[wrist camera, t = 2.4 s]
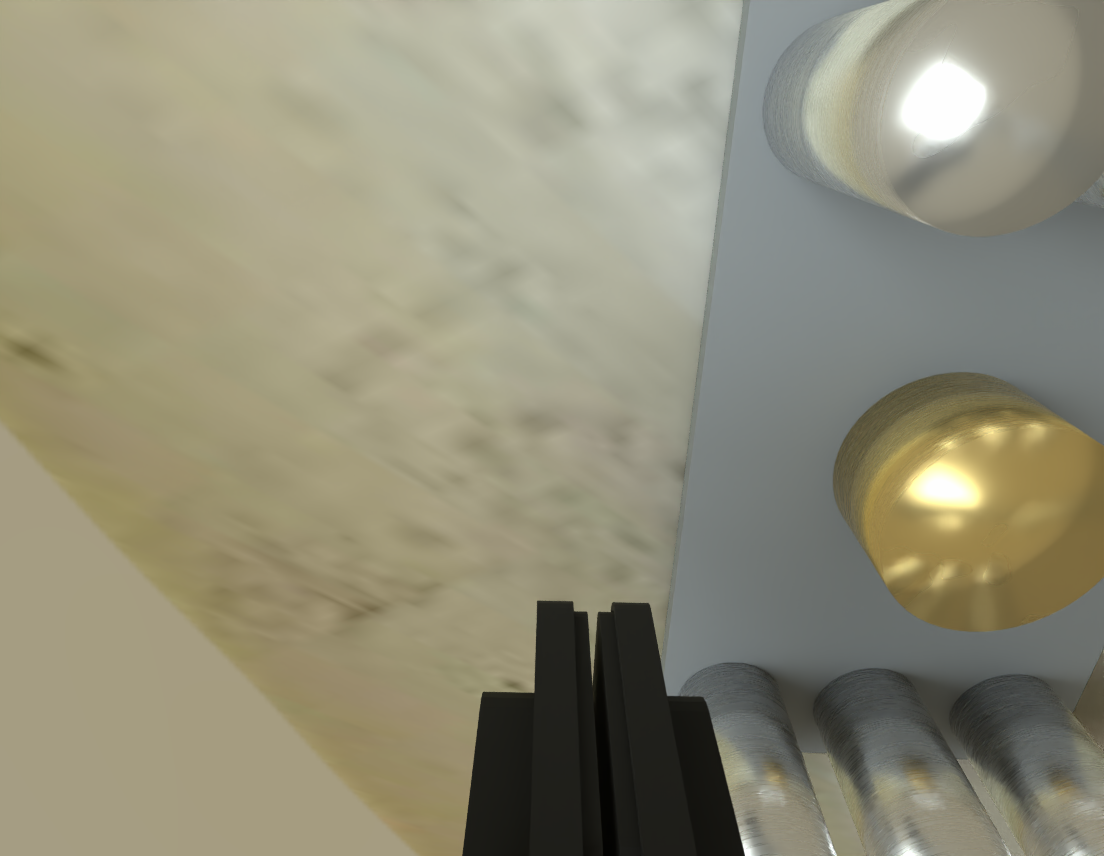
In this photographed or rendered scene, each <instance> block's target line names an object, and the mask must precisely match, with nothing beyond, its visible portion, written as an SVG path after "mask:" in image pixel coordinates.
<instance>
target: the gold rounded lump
mask: <svg viewBox="0 0 1104 856" xmlns="http://www.w3.org/2000/svg"><path fill="white" fill-rule="evenodd" d="M833 491H834V498H835V501H836V504H837V507H838V509H839V511H840V513H841V515H842V516H843V518H844V520H845V521H846V523H847V524H848V526H849V528H850V529H851V531H852V532H853V534H854V536H855V537H856V539H857V540H858V542H859V543H860V545H861V547H862V548H863V550H864V551H865V553H866V555H867V556H868V558H869V559H870V561H871V562H872V564H873V566H874V567H875V569H876V570H877V572H878V574H879V575H880V577H881V578H882V580H883V581H884V583H885V585H886V586H887V588H888V589H889V591H890V593H891V594H892V595H893V597H894V598H895V599H896V600H897V602H898V603H899V604H900V605H901V606H903V607H904V608H905V609H906V610H907V611H908V612H910V613H911V614H913V615H914V616H916V617H917V618H919V619H921V620H923V621H925V622H927V623H930V624H933V625H936V626H939V627H942V628H946V629H951V630H957V631H967V632H987V631H996V630H1003V629H1008V628H1013V627H1018V626H1021V625H1025V624H1028V623H1031V622H1034V621H1037V620H1039V619H1042V618H1044V617H1047V616H1049V615H1051V614H1053V613H1055V612H1057V611H1059V610H1061V609H1063V608H1064V607H1066V606H1068V605H1069V604H1071V603H1073V602H1074V601H1076V600H1077V599H1079V598H1080V597H1081V596H1083V595H1084V594H1085V593H1087V592H1088V591H1089V590H1090V589H1091V588H1093V587H1094V586H1095V585H1096V584H1097V583H1098V582H1099V581H1100V580H1101V579H1102V578H1103V577H1104V446H1103V445H1102V444H1100V443H1099V442H1097V441H1096V440H1094V439H1093V438H1091V437H1090V436H1088V435H1087V434H1085V433H1084V432H1082V431H1081V430H1079V429H1078V428H1076V427H1075V426H1073V425H1072V424H1070V423H1069V422H1067V421H1066V420H1064V419H1063V418H1061V417H1060V416H1058V415H1057V414H1055V413H1054V412H1052V411H1051V410H1049V409H1048V408H1046V407H1045V406H1043V405H1042V404H1040V403H1039V402H1037V401H1036V400H1034V399H1033V398H1031V397H1030V396H1028V395H1027V394H1025V393H1024V392H1022V391H1021V390H1019V389H1018V388H1016V387H1015V386H1013V385H1011V384H1010V383H1008V382H1006V381H1004V380H1001V379H999V378H996V377H993V376H989V375H985V374H981V373H971V372H951V373H944V374H937V375H933V376H929V377H925V378H921V379H919V380H916V381H913V382H911V383H908V384H906V385H904V386H902V387H900V388H898V389H896V390H894V391H892V392H891V393H889V394H888V395H886V396H885V397H883V398H881V399H880V400H879V401H878V402H876V403H875V404H874V405H873V406H871V407H870V408H869V409H868V410H867V411H866V412H865V413H864V414H863V415H862V416H861V417H860V418H859V419H858V420H857V422H856V423H855V424H854V425H853V427H852V428H851V429H850V431H849V432H848V434H847V436H846V437H845V439H844V440H843V443H842V445H841V447H840V449H839V451H838V454H837V458H836V461H835V464H834V471H833Z"/></svg>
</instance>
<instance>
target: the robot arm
mask: <svg viewBox="0 0 1104 856" xmlns="http://www.w3.org/2000/svg"><path fill="white" fill-rule="evenodd" d="M462 856H745V852H744V848H743V844H742V840H741V836H740V832H739V828H738V824H737V820H736V816H735V812H734V808H733V804H732V800H731V796H730V792H729V788H728V784H727V780H726V776H725V772H724V768H723V764H722V760H721V756H720V752H719V748H718V744H717V740H716V737H715V733H714V729H713V725H712V721H711V717H710V713H709V709H708V706H707V703H706V701H705V699H704V698H703V697H700V696H667V692H666V687H665V682H664V676H663V671H662V666H661V660H660V655H659V650H658V644H657V639H656V634H655V628H654V623H653V618H652V612H651V608H650V605H649V603H616V602H613V603H612V606H611V612H598V617H597V631H596V645H595V659H594V673H593V687H592V674H591V658H590V643H589V628H588V614H587V612H575V611H574V607H573V602H572V601H537V628H536V660H535V691H534V693H515V692H483V693H482V697H481V704H480V712H479V721H478V729H477V737H476V746H475V754H474V763H473V771H472V780H471V788H470V796H469V805H468V813H467V822H466V830H465V839H464V847H463V855H462Z"/></svg>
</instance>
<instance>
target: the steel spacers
mask: <svg viewBox="0 0 1104 856" xmlns="http://www.w3.org/2000/svg"><path fill="white" fill-rule="evenodd" d="M762 120H763V127H764V133H765V136H766V139H767V142H768V144H769V146H770V148H771V151H772V152H773V154H774V155H775V157H776V158H777V159H778V160H779V162H780V163H781V164H782V165H783V166H784V167H785V168H787V169H788V170H789V171H790V172H792V173H794V174H795V175H797V176H799V177H801V178H804V179H806V180H809V181H812V182H814V183H817V184H820V185H822V186H825V187H828V188H830V189H833V190H836V191H838V192H841V193H844V194H846V195H849V196H852V197H854V198H857V199H860V200H862V201H865V202H868V203H870V204H873V205H876V206H878V207H881V208H884V209H886V210H889V211H892V212H895V213H897V214H900V215H903V216H905V217H908V218H911V219H913V220H916V221H919V222H921V223H924V224H927V225H929V226H932V227H935V228H937V229H940V230H943V231H945V232H949V233H953V234H957V235H962V236H972V237H986V236H996V235H1003V234H1008V233H1012V232H1015V231H1019V230H1022V229H1025V228H1028V227H1030V226H1033V225H1035V224H1037V223H1040V222H1042V221H1044V220H1045V219H1047V218H1049V217H1051V216H1053V215H1055V214H1056V213H1058V212H1059V211H1061V210H1062V209H1064V208H1065V207H1067V206H1068V205H1070V204H1071V203H1073V202H1078V203H1083V204H1087V205H1092V206H1096V207H1101V208H1104V0H889V1H886V2H882V3H879V4H875V5H872V6H869V7H865V8H862V9H858V10H855V11H851V12H848V13H845V14H841V15H838V16H834V17H832V18H829V19H826V20H823V21H821V22H819V23H817V24H815V25H813V26H812V27H810V28H809V29H807V30H805V31H804V32H803V33H802V34H800V35H799V36H798V37H797V38H796V39H795V40H794V41H793V42H792V43H791V44H790V45H789V46H788V47H787V48H786V49H785V51H784V52H783V53H782V55H781V56H780V57H779V59H778V61H777V63H776V64H775V66H774V68H773V70H772V72H771V74H770V76H769V79H768V82H767V85H766V88H765V93H764V98H763V107H762ZM678 696H700V697H703V698H704V699H705V701H706V703H707V706H708V709H709V713H710V717H711V721H712V725H713V729H714V733H715V737H716V740H717V744H718V748H719V752H720V756H721V760H722V764H723V768H724V772H725V776H726V780H727V784H728V788H729V792H730V796H731V800H732V804H733V808H734V812H735V816H736V820H737V824H738V828H739V832H740V836H741V840H742V844H743V848H744V852H745V856H837V855H836V852H835V849H834V846H833V843H832V840H831V837H830V834H829V832H828V829H827V826H826V823H825V820H824V817H823V814H822V811H821V808H820V805H819V802H818V800H817V797H816V794H815V791H814V788H813V785H812V782H811V779H810V776H809V773H808V770H807V768H806V765H805V762H804V759H803V756H802V753H801V750H800V747H799V744H798V741H797V739H796V736H795V733H794V730H793V727H792V724H791V721H790V718H789V715H788V712H787V709H786V707H785V704H784V701H783V698H782V695H781V692H780V689H779V687H778V684H777V683H776V681H775V680H774V678H773V677H772V676H771V675H770V674H768V673H767V672H766V671H764V670H763V669H761V668H759V667H756V666H754V665H750V664H746V663H739V662H727V663H720V664H715V665H712V666H709V667H706V668H704V669H702V670H700V671H698V672H697V673H695V674H694V675H692V676H691V677H690V678H689V679H688V680H687V681H686V682H685V683H684V685H683V686H682V688H681V690H680V692H679V695H678ZM813 715H814V719H815V722H816V725H817V727H818V730H819V732H820V735H821V738H822V740H823V743H824V746H825V748H826V751H827V753H828V756H829V759H830V761H831V764H832V766H833V769H834V772H835V774H836V777H837V779H838V782H839V785H840V787H841V790H842V792H843V795H844V798H845V800H846V803H847V806H848V808H849V811H850V813H851V816H852V819H853V821H854V824H855V826H856V829H857V832H858V834H859V837H860V839H861V842H862V845H863V847H864V850H865V852H866V855H867V856H1011V854H1010V852H1009V850H1008V849H1007V847H1006V845H1005V843H1004V842H1003V840H1002V838H1001V836H1000V835H999V833H998V831H997V829H996V828H995V826H994V824H993V822H992V821H991V819H990V817H989V815H988V814H987V812H986V810H985V809H984V807H983V805H982V803H981V802H980V800H979V798H978V796H977V795H976V793H975V791H974V789H973V788H972V786H971V784H970V782H969V781H968V779H967V777H966V775H965V774H964V772H963V770H962V768H961V767H960V765H959V763H958V761H957V760H956V758H955V756H954V754H953V753H952V751H951V749H950V747H949V746H948V744H947V742H946V740H945V739H944V737H943V735H942V733H941V732H940V730H939V728H938V727H937V725H936V723H935V721H934V720H933V718H932V716H931V714H930V713H929V711H928V709H927V707H926V706H925V704H924V702H923V700H922V699H921V697H920V695H919V693H918V692H917V690H916V688H915V686H914V685H913V684H912V682H911V681H910V680H909V679H908V678H906V677H905V676H903V675H902V674H900V673H897V672H895V671H892V670H887V669H881V668H867V669H860V670H855V671H852V672H848V673H846V674H844V675H841V676H839V677H837V678H836V679H834V680H833V681H831V682H830V683H829V684H827V685H826V686H825V687H824V688H823V689H822V690H821V692H820V693H819V694H818V696H817V698H816V700H815V703H814V708H813ZM949 723H950V727H951V730H952V732H953V734H954V735H955V737H956V739H957V740H958V742H959V744H960V745H961V747H962V749H963V750H964V752H965V754H966V756H967V757H968V759H969V761H970V762H971V764H972V766H973V767H974V769H975V771H976V772H977V774H978V776H979V778H980V779H981V781H982V783H983V784H984V786H985V788H986V789H987V791H988V793H989V794H990V796H991V798H992V799H993V801H994V803H995V805H996V806H997V808H998V810H999V811H1000V813H1001V815H1002V816H1003V818H1004V820H1005V821H1006V823H1007V825H1008V827H1009V828H1010V830H1011V832H1012V833H1013V835H1014V837H1015V838H1016V840H1017V842H1018V843H1019V845H1020V847H1021V848H1022V850H1023V852H1024V854H1025V855H1026V856H1104V752H1103V751H1102V750H1101V748H1100V747H1099V746H1098V745H1097V744H1096V742H1095V741H1094V740H1093V739H1092V737H1091V736H1090V735H1089V734H1088V732H1087V731H1086V730H1085V729H1084V727H1083V726H1082V725H1081V724H1080V722H1079V721H1078V720H1077V719H1076V717H1075V716H1074V715H1073V714H1072V712H1071V711H1070V710H1069V709H1068V707H1067V706H1066V705H1065V704H1064V702H1063V701H1062V700H1061V699H1060V697H1059V696H1058V695H1057V694H1056V692H1055V691H1054V690H1053V689H1052V687H1051V686H1050V685H1049V684H1048V683H1046V682H1045V681H1043V680H1041V679H1039V678H1037V677H1034V676H1030V675H1024V674H1007V675H1001V676H996V677H992V678H989V679H987V680H984V681H982V682H980V683H978V684H976V685H974V686H972V687H971V688H969V689H968V690H967V691H965V692H964V693H963V694H962V695H961V696H960V697H959V698H958V699H957V701H956V702H955V704H954V705H953V707H952V709H951V712H950V717H949Z"/></svg>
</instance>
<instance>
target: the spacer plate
mask: <svg viewBox="0 0 1104 856" xmlns="http://www.w3.org/2000/svg"><path fill="white" fill-rule="evenodd" d="M886 1H889V0H744V2H743V10H742V18H741V26H740V34H739V42H738V50H737V58H736V66H735V74H734V82H733V90H732V98H731V106H730V114H729V122H728V130H727V138H726V146H725V154H724V162H723V170H722V178H721V186H720V194H719V202H718V210H717V218H716V226H715V234H714V242H713V250H712V258H711V266H710V274H709V282H708V290H707V298H706V306H705V314H704V322H703V330H702V338H701V346H700V354H699V362H698V370H697V378H696V386H695V394H694V402H693V410H692V419H691V427H690V435H689V443H688V451H687V459H686V467H685V475H684V483H683V491H682V499H681V507H680V515H679V523H678V531H677V539H676V547H675V555H674V563H673V571H672V579H671V587H670V595H669V603H668V611H667V619H666V627H665V635H664V643H663V651H662V659H661V666H662V671H663V676H664V682H665V687H666V692H667V696H678V695H679V692H680V690H681V688H682V686H683V685H684V683H685V682H686V681H687V680H688V679H689V678H690V677H691V676H692V675H694V674H695V673H697V672H698V671H700V670H702V669H704V668H706V667H709V666H712V665H715V664H720V663H727V662H739V663H746V664H750V665H754V666H756V667H759V668H761V669H763V670H764V671H766V672H767V673H768V674H770V675H771V676H772V677H773V678H774V680H775V681H776V683H777V684H778V687H779V689H780V692H781V695H782V698H783V701H784V704H785V707H786V709H787V712H788V715H789V718H790V721H791V724H792V727H793V730H794V733H795V736H796V739H797V741H798V744H799V747H800V750H801V752H808V753H827V751H826V748H825V746H824V743H823V740H822V738H821V735H820V732H819V730H818V727H817V725H816V722H815V719H814V715H813V708H814V703H815V700H816V698H817V696H818V694H819V693H820V692H821V690H822V689H823V688H824V687H825V686H826V685H827V684H829V683H830V682H831V681H833V680H834V679H836V678H837V677H839V676H841V675H844V674H846V673H848V672H852V671H855V670H860V669H867V668H881V669H887V670H892V671H895V672H897V673H900V674H902V675H903V676H905V677H906V678H908V679H909V680H910V681H911V682H912V684H913V685H914V686H915V688H916V690H917V692H918V693H919V695H920V697H921V699H922V700H923V702H924V704H925V706H926V707H927V709H928V711H929V713H930V714H931V716H932V718H933V720H934V721H935V723H936V725H937V727H938V728H939V730H940V732H941V733H942V735H943V737H944V739H945V740H946V742H947V744H948V746H949V747H950V749H951V751H952V753H953V754H954V756H955V758H956V759H968V757H967V756H966V754H965V752H964V750H963V749H962V747H961V745H960V744H959V742H958V740H957V739H956V737H955V735H954V734H953V732H952V730H951V727H950V723H949V717H950V712H951V709H952V707H953V705H954V704H955V702H956V701H957V699H958V698H959V697H960V696H961V695H962V694H963V693H964V692H965V691H967V690H968V689H969V688H971V687H972V686H974V685H976V684H978V683H980V682H982V681H984V680H987V679H989V678H992V677H996V676H1001V675H1007V674H1024V675H1030V676H1034V677H1037V678H1039V679H1041V680H1043V681H1045V682H1046V683H1048V684H1049V685H1050V686H1051V687H1052V689H1053V690H1054V691H1055V692H1056V694H1057V695H1058V696H1059V697H1060V699H1061V700H1062V701H1063V702H1064V704H1065V705H1066V706H1067V707H1068V709H1069V710H1070V711H1071V712H1072V713H1073V711H1074V709H1075V707H1076V705H1077V703H1078V701H1079V699H1080V697H1081V695H1082V692H1083V690H1084V688H1085V686H1086V684H1087V682H1088V680H1089V678H1090V676H1091V674H1092V672H1093V669H1094V667H1095V665H1096V663H1097V661H1098V659H1099V657H1100V655H1101V653H1102V651H1103V649H1104V577H1103V578H1102V579H1101V580H1100V581H1099V582H1098V583H1097V584H1096V585H1095V586H1094V587H1093V588H1091V589H1090V590H1089V591H1088V592H1087V593H1085V594H1084V595H1083V596H1081V597H1080V598H1079V599H1077V600H1076V601H1074V602H1073V603H1071V604H1069V605H1068V606H1066V607H1064V608H1063V609H1061V610H1059V611H1057V612H1055V613H1053V614H1051V615H1049V616H1047V617H1044V618H1042V619H1039V620H1037V621H1034V622H1031V623H1028V624H1025V625H1021V626H1018V627H1013V628H1008V629H1003V630H996V631H987V632H967V631H957V630H951V629H946V628H942V627H939V626H936V625H933V624H930V623H927V622H925V621H923V620H921V619H919V618H917V617H916V616H914V615H913V614H911V613H910V612H908V611H907V610H906V609H905V608H904V607H903V606H901V605H900V604H899V603H898V602H897V600H896V599H895V598H894V597H893V595H892V594H891V593H890V591H889V589H888V588H887V586H886V585H885V583H884V581H883V580H882V578H881V577H880V575H879V574H878V572H877V570H876V569H875V567H874V566H873V564H872V562H871V561H870V559H869V558H868V556H867V555H866V553H865V551H864V550H863V548H862V547H861V545H860V543H859V542H858V540H857V539H856V537H855V536H854V534H853V532H852V531H851V529H850V528H849V526H848V524H847V523H846V521H845V520H844V518H843V516H842V515H841V513H840V511H839V509H838V507H837V504H836V501H835V498H834V491H833V471H834V464H835V461H836V458H837V454H838V451H839V449H840V447H841V445H842V443H843V440H844V439H845V437H846V436H847V434H848V432H849V431H850V429H851V428H852V427H853V425H854V424H855V423H856V422H857V420H858V419H859V418H860V417H861V416H862V415H863V414H864V413H865V412H866V411H867V410H868V409H869V408H870V407H871V406H873V405H874V404H875V403H876V402H878V401H879V400H880V399H881V398H883V397H885V396H886V395H888V394H889V393H891V392H892V391H894V390H896V389H898V388H900V387H902V386H904V385H906V384H908V383H911V382H913V381H916V380H919V379H921V378H925V377H929V376H933V375H937V374H944V373H951V372H971V373H981V374H985V375H989V376H993V377H996V378H999V379H1001V380H1004V381H1006V382H1008V383H1010V384H1011V385H1013V386H1015V387H1016V388H1018V389H1019V390H1021V391H1022V392H1024V393H1025V394H1027V395H1028V396H1030V397H1031V398H1033V399H1034V400H1036V401H1037V402H1039V403H1040V404H1042V405H1043V406H1045V407H1046V408H1048V409H1049V410H1051V411H1052V412H1054V413H1055V414H1057V415H1058V416H1060V417H1061V418H1063V419H1064V420H1066V421H1067V422H1069V423H1070V424H1072V425H1073V426H1075V427H1076V428H1078V429H1079V430H1081V431H1082V432H1084V433H1085V434H1087V435H1088V436H1090V437H1091V438H1093V439H1094V440H1096V441H1097V442H1099V443H1100V444H1102V445H1103V446H1104V208H1101V207H1096V206H1092V205H1087V204H1083V203H1078V202H1073V203H1071V204H1070V205H1068V206H1067V207H1065V208H1064V209H1062V210H1061V211H1059V212H1058V213H1056V214H1055V215H1053V216H1051V217H1049V218H1047V219H1045V220H1044V221H1042V222H1040V223H1037V224H1035V225H1033V226H1030V227H1028V228H1025V229H1022V230H1019V231H1015V232H1012V233H1008V234H1003V235H996V236H986V237H972V236H962V235H957V234H953V233H949V232H945V231H943V230H940V229H937V228H935V227H932V226H929V225H927V224H924V223H921V222H919V221H916V220H913V219H911V218H908V217H905V216H903V215H900V214H897V213H895V212H892V211H889V210H886V209H884V208H881V207H878V206H876V205H873V204H870V203H868V202H865V201H862V200H860V199H857V198H854V197H852V196H849V195H846V194H844V193H841V192H838V191H836V190H833V189H830V188H828V187H825V186H822V185H820V184H817V183H814V182H812V181H809V180H806V179H804V178H801V177H799V176H797V175H795V174H794V173H792V172H790V171H789V170H788V169H787V168H785V167H784V166H783V165H782V164H781V163H780V162H779V160H778V159H777V158H776V157H775V155H774V154H773V152H772V151H771V148H770V146H769V144H768V142H767V139H766V136H765V133H764V127H763V120H762V107H763V98H764V93H765V88H766V85H767V82H768V79H769V76H770V74H771V72H772V70H773V68H774V66H775V64H776V63H777V61H778V59H779V57H780V56H781V55H782V53H783V52H784V51H785V49H786V48H787V47H788V46H789V45H790V44H791V43H792V42H793V41H794V40H795V39H796V38H797V37H798V36H799V35H800V34H802V33H803V32H804V31H805V30H807V29H809V28H810V27H812V26H813V25H815V24H817V23H819V22H821V21H823V20H826V19H829V18H832V17H834V16H838V15H841V14H845V13H848V12H851V11H855V10H858V9H862V8H865V7H869V6H872V5H875V4H879V3H882V2H886Z"/></svg>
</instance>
